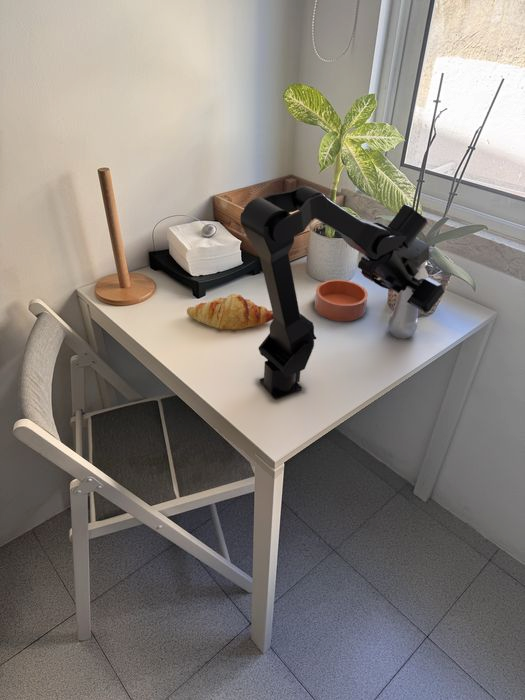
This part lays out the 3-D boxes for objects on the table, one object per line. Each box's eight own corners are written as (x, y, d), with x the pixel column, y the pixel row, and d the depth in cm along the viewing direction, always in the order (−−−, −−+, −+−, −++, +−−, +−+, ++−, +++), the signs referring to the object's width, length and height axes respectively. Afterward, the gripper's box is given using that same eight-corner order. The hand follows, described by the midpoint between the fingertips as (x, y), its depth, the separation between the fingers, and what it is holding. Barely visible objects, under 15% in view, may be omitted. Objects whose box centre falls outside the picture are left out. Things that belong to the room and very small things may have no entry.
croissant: (186, 336, 122) (181, 320, 115) (190, 300, 126) (186, 282, 119) (274, 339, 121) (275, 323, 114) (276, 303, 125) (276, 285, 118)
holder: (334, 326, 121) (336, 310, 119) (304, 301, 130) (306, 286, 127) (375, 313, 127) (378, 298, 124) (344, 290, 135) (346, 275, 133)
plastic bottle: (412, 327, 122) (431, 250, 110) (416, 343, 117) (437, 264, 105) (385, 324, 123) (401, 247, 111) (388, 340, 117) (405, 261, 105)
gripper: (451, 249, 96) (471, 286, 108) (380, 215, 108) (405, 252, 120) (413, 296, 97) (437, 327, 109) (347, 258, 109) (375, 290, 121)
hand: (413, 297), depth 115 cm, fingers closed on plastic bottle, 6 cm apart
